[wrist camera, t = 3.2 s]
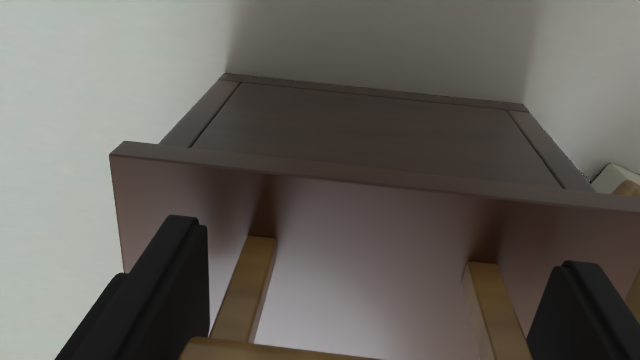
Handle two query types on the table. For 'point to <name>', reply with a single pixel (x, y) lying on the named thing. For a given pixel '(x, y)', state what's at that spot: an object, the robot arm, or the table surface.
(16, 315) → the table surface
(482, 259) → the lid
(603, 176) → the cosmetic box
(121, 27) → the table surface
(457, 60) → the table surface
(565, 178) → the chest
